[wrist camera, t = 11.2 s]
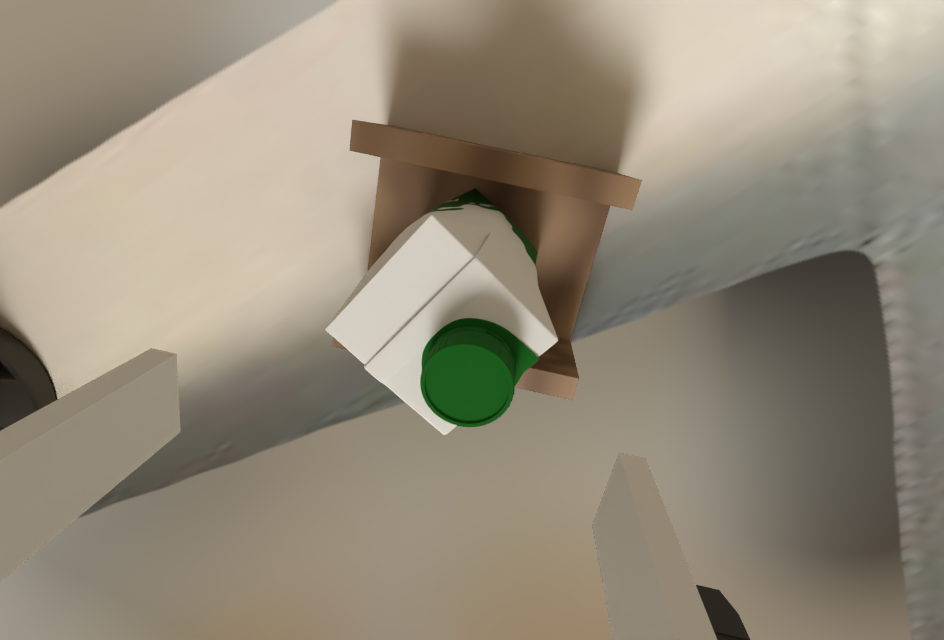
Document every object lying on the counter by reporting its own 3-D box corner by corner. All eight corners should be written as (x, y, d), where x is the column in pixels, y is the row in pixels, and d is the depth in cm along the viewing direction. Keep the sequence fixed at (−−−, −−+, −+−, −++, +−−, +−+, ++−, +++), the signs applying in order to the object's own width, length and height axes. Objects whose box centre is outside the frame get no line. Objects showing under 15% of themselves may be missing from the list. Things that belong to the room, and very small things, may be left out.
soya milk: (478, 323, 40) (437, 478, 21) (400, 248, 38) (281, 346, 20) (554, 252, 37) (585, 360, 18) (473, 168, 35) (417, 194, 17)
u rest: (365, 311, 41) (331, 346, 34) (387, 125, 36) (352, 119, 28) (563, 355, 41) (572, 400, 34) (617, 173, 35) (641, 180, 28)
